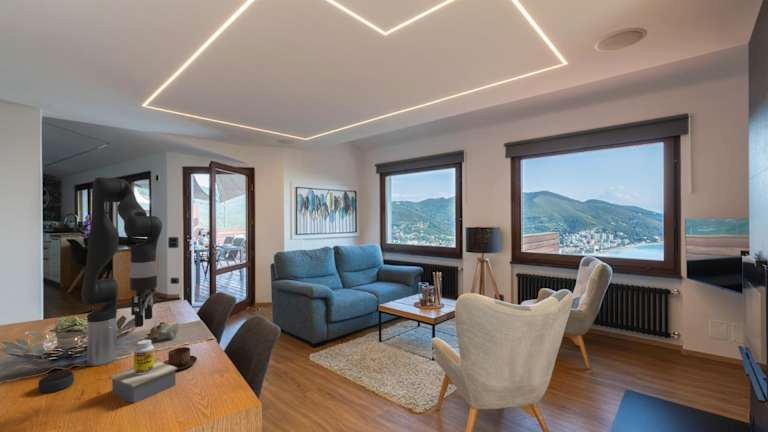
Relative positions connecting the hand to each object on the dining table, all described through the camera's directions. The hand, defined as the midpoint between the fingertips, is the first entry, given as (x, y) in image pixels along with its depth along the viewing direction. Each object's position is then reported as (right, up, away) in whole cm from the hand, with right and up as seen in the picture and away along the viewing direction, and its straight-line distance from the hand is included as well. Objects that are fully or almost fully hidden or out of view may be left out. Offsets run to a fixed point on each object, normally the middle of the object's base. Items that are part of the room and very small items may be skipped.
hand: (144, 322), depth 117 cm
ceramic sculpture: (-25, -23, +47) cm, 58 cm away
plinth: (0, -23, 0) cm, 23 cm away
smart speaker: (-32, -23, +2) cm, 39 cm away
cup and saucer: (+1, -23, +18) cm, 29 cm away
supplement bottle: (0, -17, 0) cm, 17 cm away
